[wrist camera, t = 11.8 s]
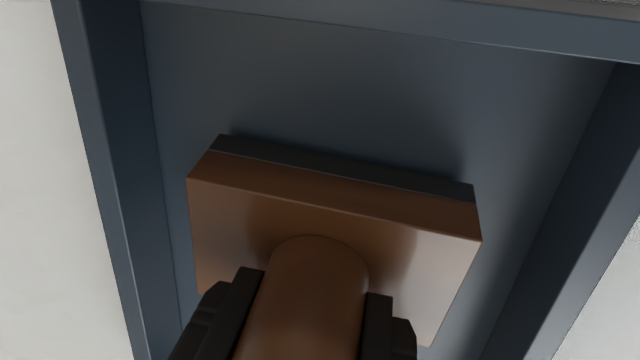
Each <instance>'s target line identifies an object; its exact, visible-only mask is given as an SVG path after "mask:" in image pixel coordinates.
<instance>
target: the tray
mask: <svg viewBox="0 0 640 360" xmlns="http://www.w3.org/2000/svg"><path fill="white" fill-rule="evenodd" d="M50 1H51V5H52V10H53V14H54V18H55V22H56V27H57V31H58V35H59V39H60V44H61V48H62V52H63V57H64V61H65V65H66V69H67V74H68V78H69V82H70V86H71V91H72V95H73V99H74V104H75V108H76V112H77V116H78V121H79V125H80V129H81V133H82V138H83V142H84V146H85V151H86V155H87V159H88V163H89V168H90V172H91V176H92V180H93V185H94V189H95V193H96V198H97V202H98V206H99V210H100V215H101V219H102V223H103V228H104V232H105V236H106V240H107V245H108V249H109V253H110V257H111V262H112V266H113V270H114V275H115V279H116V283H117V287H118V292H119V296H120V300H121V304H122V309H123V313H124V317H125V322H126V326H127V330H128V334H129V339H130V343H131V347H132V351H133V356H134V360H167V359H168V357H169V356H170V354H171V352H172V350H173V349H174V347H175V345H176V343H177V341H178V340H179V338H180V336H181V334H182V332H183V331H184V329H185V327H186V325H187V324H188V323H189V321H190V318H191V316H192V315H193V313H194V311H195V310H196V309H197V306H198V304H199V302H200V300H201V299H202V297H203V294H199V293H198V292H197V284H196V275H195V266H194V256H193V247H192V238H191V228H190V219H189V209H188V200H187V191H186V181H185V178H186V176H187V175H188V174H189V173H190V171H191V170H192V169H193V167H194V166H195V165H196V163H197V162H198V161H199V160H200V158H201V157H202V156H203V154H204V153H205V152H206V151H207V150H208V148H209V146H210V145H211V144H212V143H213V141H214V140H215V139H216V137H217V136H218V135H219V134H226V135H231V136H236V137H241V138H246V139H251V140H256V141H261V142H266V143H271V144H276V145H281V146H285V147H290V148H295V149H300V150H305V151H310V152H315V153H320V154H325V155H330V156H335V157H340V158H345V159H350V160H355V161H360V162H365V163H370V164H375V165H380V166H385V167H390V168H395V169H400V170H405V171H410V172H415V173H419V174H424V175H429V176H434V177H439V178H444V179H449V180H454V181H459V182H464V183H469V184H473V186H474V192H475V197H476V203H477V205H476V206H477V209H478V215H479V221H480V226H481V232H482V237H483V243H482V245H481V247H480V249H479V251H478V253H477V255H476V257H475V259H474V261H473V263H472V265H471V267H470V269H469V271H468V273H467V275H466V277H465V279H464V281H463V283H462V285H461V287H460V289H459V291H458V293H457V295H456V297H455V299H454V301H453V303H452V305H451V307H450V309H449V311H448V313H447V315H446V317H445V319H444V321H443V323H442V325H441V327H440V329H439V331H438V333H437V335H436V337H435V339H434V341H433V343H432V345H431V347H430V348H427V347H423V346H419V345H417V360H551V359H552V358H553V356H554V354H555V353H556V351H557V349H558V348H559V346H560V344H561V343H562V341H563V340H564V338H565V336H566V335H567V333H568V331H569V330H570V328H571V326H572V325H573V323H574V321H575V320H576V318H577V317H578V315H579V313H580V312H581V310H582V308H583V307H584V305H585V303H586V302H587V300H588V298H589V297H590V295H591V294H592V292H593V290H594V289H595V287H596V285H597V284H598V282H599V280H600V279H601V277H602V275H603V274H604V272H605V271H606V269H607V267H608V266H609V264H610V262H611V261H612V259H613V257H614V256H615V254H616V252H617V251H618V249H619V248H620V246H621V244H622V243H623V241H624V239H625V238H626V236H627V234H628V233H629V231H630V229H631V228H632V226H633V225H634V223H635V221H636V220H637V218H638V216H639V215H640V6H638V5H629V4H621V3H612V2H603V1H595V0H50Z"/></svg>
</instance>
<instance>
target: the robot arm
mask: <svg viewBox="0 0 640 360" xmlns="http://www.w3.org/2000/svg"><path fill="white" fill-rule="evenodd" d="M264 273H265V271H263V270H258V269H253V268H248V267H243V266H241V267H240V268H239V269H238V271H237V273H236V275H235V277H234V279H233V281H232V283H229V282H225V281H220V280H219V281H218V282H217V283H216V284H214V285H213V286H212V287H211V288H210V289H208V290H207V291H206V292H205V293H204V295H203V297H202V299H201V300H200V302H199V304H198V306H197V309H196V310H195V311H194V313H193V315H192V316H191V318H190V321H189V323H188V324H187V325H186V327H185V329H184V331H183V332H182V334H181V336H180V338H179V340H178V341H177V343H176V345H175V347H174V349H173V350H172V352H171V354H170V356H169V357H168V359H167V360H231V357H232V355H233V352H234V350H235V347H236V345H237V342H238V339H239V337H240V334H241V332H242V329H243V327H244V324H245V321H246V319H247V316H248V314H249V311H250V309H251V306H252V303H253V301H254V298H255V296H256V293H257V291H258V288H259V285H260V283H261V280H262V278H263V275H264ZM392 315H393V297H392V296H387V295H382V294H377V293H372V292H367V300H366V308H365V316H364V325H363V333H362V341H361V349H360V357H359V360H417V336H416V334H415V332H414V330H413V327H412V325H411V323H410V321H409V320H408V319H404V318H399V317H394V316H392Z"/></svg>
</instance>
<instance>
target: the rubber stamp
mask: <svg viewBox="0 0 640 360" xmlns="http://www.w3.org/2000/svg"><path fill="white" fill-rule="evenodd" d="M185 181H186V191H187V200H188V209H189V219H190V228H191V238H192V247H193V256H194V266H195V275H196V284H197V292H198V293H199V294H203V295H204V293H205V292H206V291H207V290H208V289H210V288H211V287H212V286H213V285H214V284H216V283H217V282H218V281H219V280H220V281H225V282H229V283H232V281H233V279H234V277H235V275H236V273H237V271H238V269H239V268H240V267H241V266H243V267H248V268H253V269H258V270H263V271H265V273H264V275H263V278H262V280H261V283H260V285H259V288H258V291H257V293H256V296H255V298H254V301H253V303H252V306H251V309H250V311H249V314H248V316H247V319H246V321H245V324H244V327H243V329H242V332H241V334H240V337H239V339H238V342H237V345H236V347H235V350H234V352H233V355H232V357H231V360H359V357H360V349H361V341H362V333H363V325H364V316H365V308H366V300H367V292H372V293H377V294H382V295H387V296H392V297H393V315H392V316H394V317H399V318H404V319H408V320H409V321H410V323H411V325H412V327H413V330H414V332H415V334H416V336H417V345H419V346H423V347H427V348H430V347H431V345H432V343H433V341H434V339H435V337H436V335H437V333H438V331H439V329H440V327H441V325H442V323H443V321H444V319H445V317H446V315H447V313H448V311H449V309H450V307H451V305H452V303H453V301H454V299H455V297H456V295H457V293H458V291H459V289H460V287H461V285H462V283H463V281H464V279H465V277H466V275H467V273H468V271H469V269H470V267H471V265H472V263H473V261H474V259H475V257H476V255H477V253H478V251H479V249H480V247H481V245H482V243H483V237H482V232H481V226H480V221H479V215H478V209H477V206H476V205H477V203H476V197H475V192H474V186H473V184H469V183H464V182H459V181H454V180H449V179H444V178H439V177H434V176H429V175H424V174H419V173H415V172H410V171H405V170H400V169H395V168H390V167H385V166H380V165H375V164H370V163H365V162H360V161H355V160H350V159H345V158H340V157H335V156H330V155H325V154H320V153H315V152H310V151H305V150H300V149H295V148H290V147H285V146H281V145H276V144H271V143H266V142H261V141H256V140H251V139H246V138H241V137H236V136H231V135H226V134H219V135H218V136H217V137H216V139H215V140H214V141H213V143H212V144H211V145H210V146H209V148H208V150H207V151H206V152H205V153H204V154H203V156H202V157H201V158H200V160H199V161H198V162H197V163H196V165H195V166H194V167H193V169H192V170H191V171H190V173H189V174H188V175H187V176H186V178H185Z"/></svg>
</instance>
